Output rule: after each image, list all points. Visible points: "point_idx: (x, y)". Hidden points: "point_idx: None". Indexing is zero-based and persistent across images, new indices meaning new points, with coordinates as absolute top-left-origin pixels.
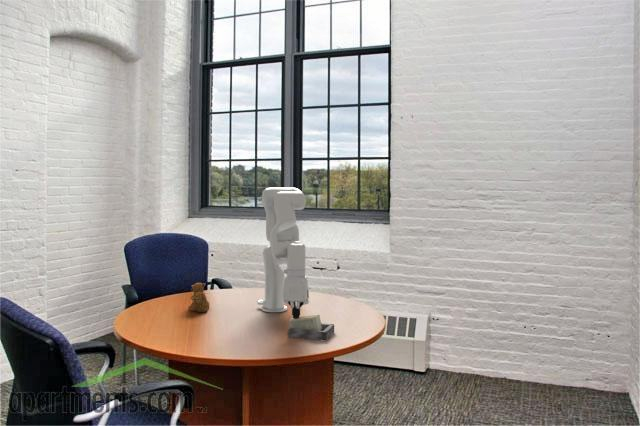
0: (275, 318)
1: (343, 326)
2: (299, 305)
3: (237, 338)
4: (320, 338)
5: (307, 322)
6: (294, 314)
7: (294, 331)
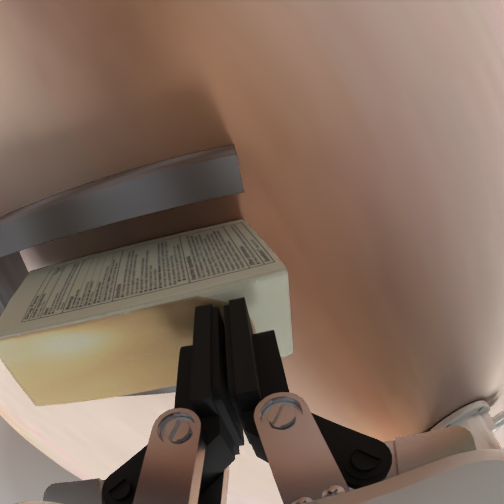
0: (438, 383)
1: (110, 434)
2: (144, 459)
3: (486, 7)
4: (4, 217)
5: (75, 294)
6: (226, 330)
7: (168, 167)
